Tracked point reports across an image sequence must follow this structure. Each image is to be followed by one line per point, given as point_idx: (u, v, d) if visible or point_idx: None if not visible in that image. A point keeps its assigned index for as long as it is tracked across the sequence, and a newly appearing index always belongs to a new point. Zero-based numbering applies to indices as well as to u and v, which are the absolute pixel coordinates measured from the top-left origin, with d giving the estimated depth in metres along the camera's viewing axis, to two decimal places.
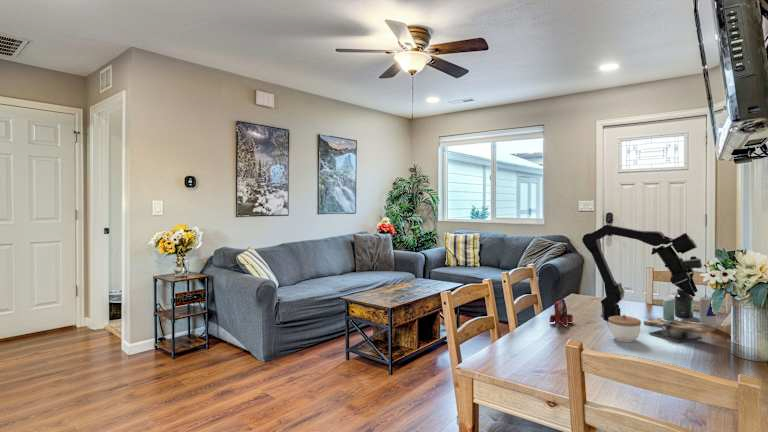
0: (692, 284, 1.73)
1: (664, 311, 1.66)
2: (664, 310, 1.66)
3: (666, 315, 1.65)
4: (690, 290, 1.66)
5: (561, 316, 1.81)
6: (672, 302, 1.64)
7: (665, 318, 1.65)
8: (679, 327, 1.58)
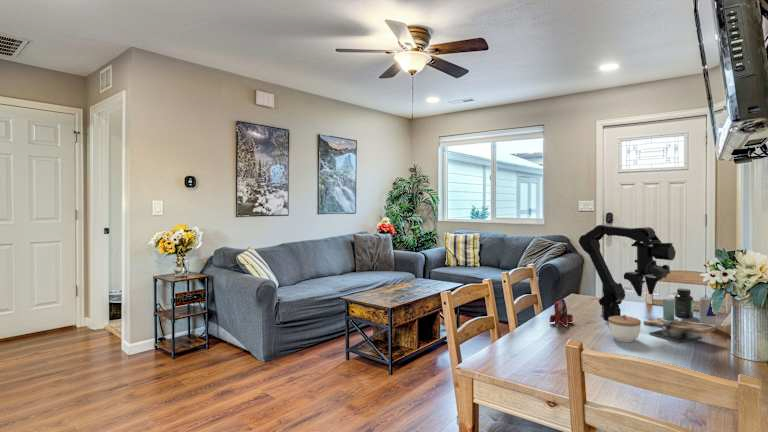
0: (651, 287, 1.77)
1: (664, 311, 1.66)
2: (664, 310, 1.66)
3: (666, 315, 1.65)
4: (638, 290, 1.74)
5: (561, 316, 1.81)
6: (672, 302, 1.64)
7: (665, 318, 1.65)
8: (679, 327, 1.58)
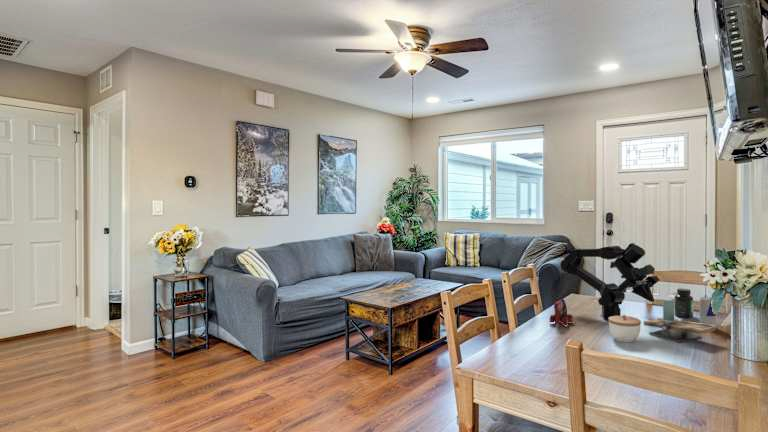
0: None
1: (664, 311, 1.66)
2: (664, 310, 1.66)
3: (666, 315, 1.65)
4: (647, 296, 1.72)
5: (561, 316, 1.81)
6: (672, 302, 1.64)
7: (665, 318, 1.65)
8: (679, 327, 1.58)
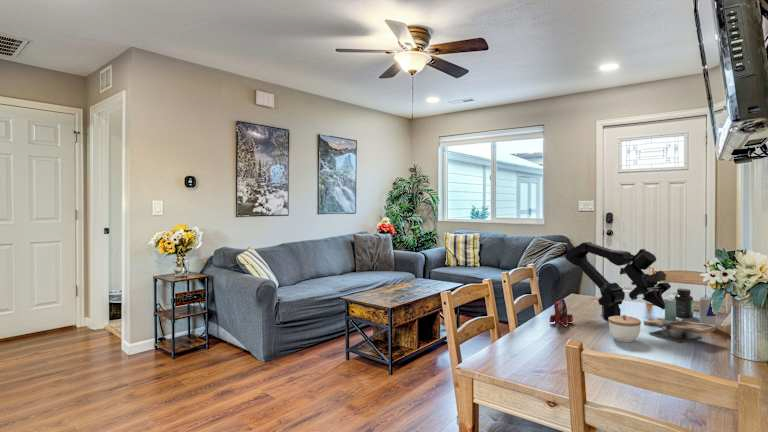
0: None
1: (666, 311, 1.65)
2: (666, 310, 1.65)
3: (668, 315, 1.64)
4: (658, 303, 1.68)
5: (561, 316, 1.81)
6: (674, 302, 1.63)
7: (667, 318, 1.65)
8: (679, 327, 1.58)
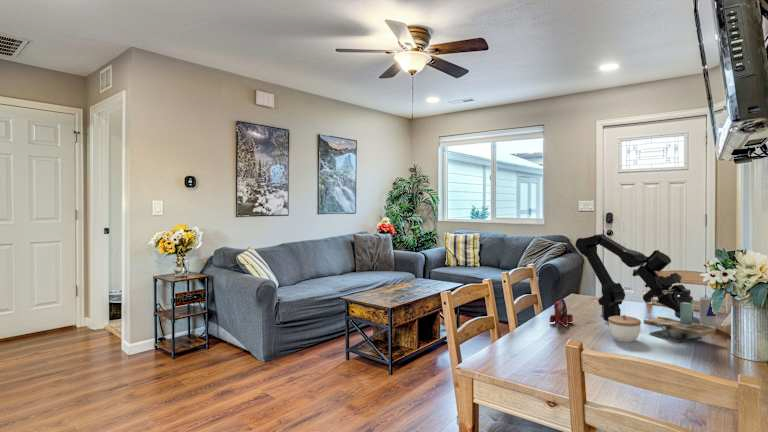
0: None
1: (681, 315, 1.60)
2: (681, 314, 1.60)
3: (683, 319, 1.59)
4: (673, 306, 1.63)
5: (561, 316, 1.81)
6: (690, 306, 1.58)
7: (682, 322, 1.59)
8: (680, 328, 1.58)
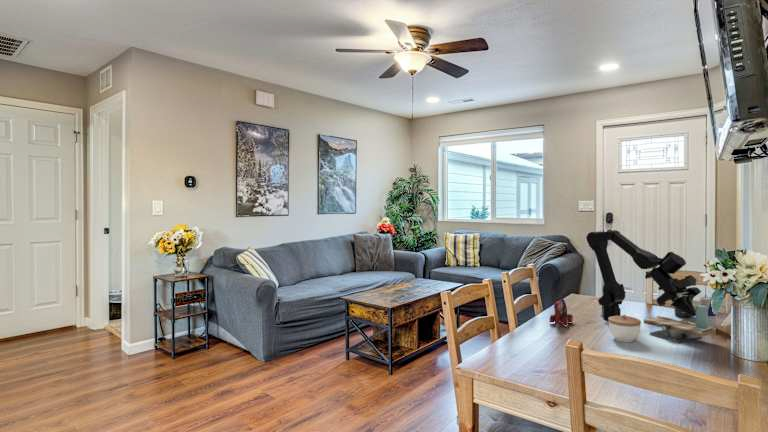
0: None
1: (697, 318, 1.55)
2: (697, 317, 1.55)
3: (699, 323, 1.54)
4: (688, 309, 1.58)
5: (561, 316, 1.81)
6: (706, 309, 1.53)
7: (698, 326, 1.54)
8: (680, 328, 1.58)
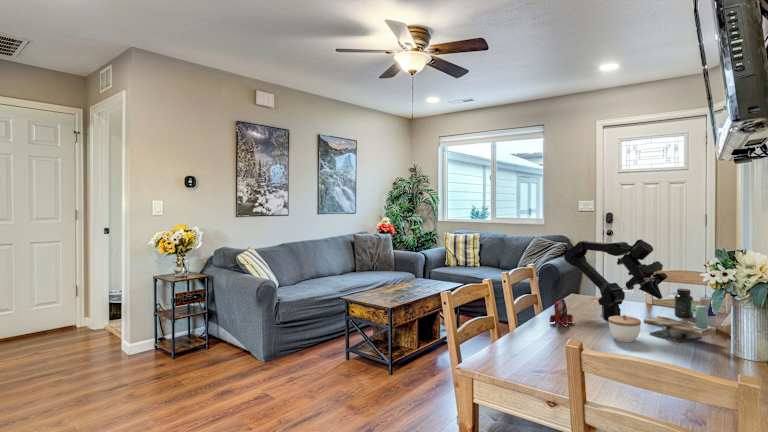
0: None
1: (697, 318, 1.55)
2: (697, 317, 1.55)
3: (699, 323, 1.54)
4: (655, 293, 1.69)
5: (561, 316, 1.81)
6: (706, 309, 1.53)
7: (698, 326, 1.54)
8: (680, 328, 1.58)
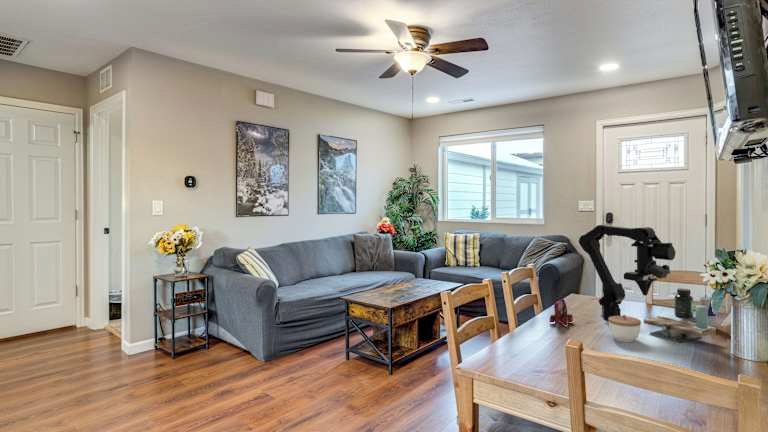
0: None
1: (697, 318, 1.55)
2: (697, 317, 1.55)
3: (699, 323, 1.54)
4: (643, 289, 1.76)
5: (561, 316, 1.81)
6: (706, 309, 1.53)
7: (698, 326, 1.54)
8: (680, 328, 1.58)
